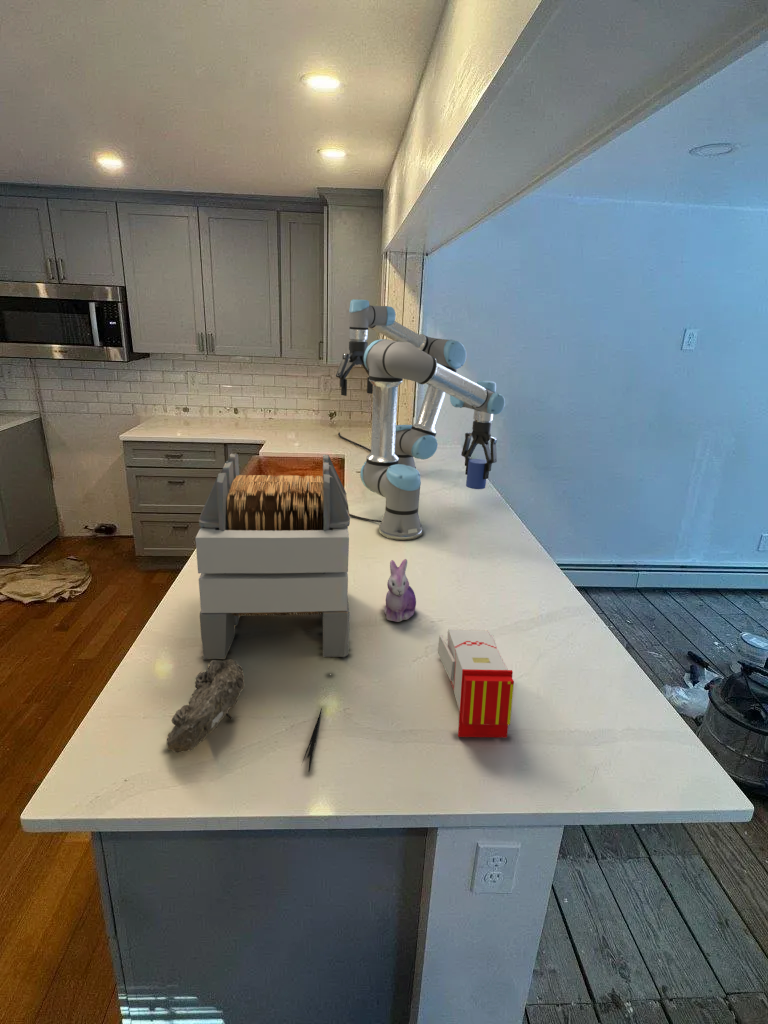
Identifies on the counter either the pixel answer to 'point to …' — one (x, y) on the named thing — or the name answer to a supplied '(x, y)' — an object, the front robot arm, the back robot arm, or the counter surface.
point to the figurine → (399, 594)
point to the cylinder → (476, 474)
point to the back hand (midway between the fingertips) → (357, 394)
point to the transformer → (273, 554)
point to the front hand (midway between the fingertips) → (476, 476)
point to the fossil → (206, 705)
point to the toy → (478, 682)
